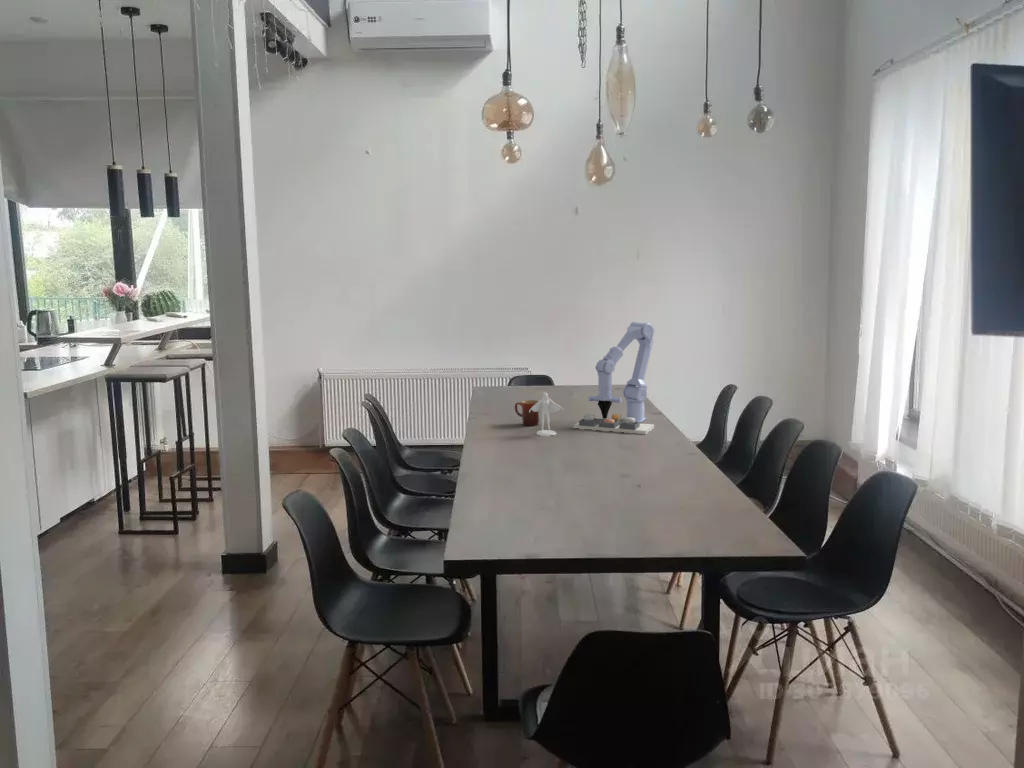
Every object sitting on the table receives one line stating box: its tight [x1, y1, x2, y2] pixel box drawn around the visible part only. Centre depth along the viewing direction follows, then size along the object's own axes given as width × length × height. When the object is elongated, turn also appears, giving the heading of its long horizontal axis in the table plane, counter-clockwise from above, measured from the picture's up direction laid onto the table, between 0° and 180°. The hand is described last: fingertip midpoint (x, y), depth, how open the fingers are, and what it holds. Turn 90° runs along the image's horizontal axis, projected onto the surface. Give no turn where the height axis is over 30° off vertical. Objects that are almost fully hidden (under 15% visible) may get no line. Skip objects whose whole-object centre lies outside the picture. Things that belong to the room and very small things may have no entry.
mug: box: [514, 399, 540, 427], centre depth 357 cm, size 12×9×10 cm
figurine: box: [529, 391, 565, 437], centre depth 338 cm, size 14×11×18 cm
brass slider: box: [611, 412, 622, 422], centre depth 350 cm, size 4×3×4 cm
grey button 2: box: [623, 416, 635, 425], centre depth 340 cm, size 5×5×2 cm
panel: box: [572, 417, 655, 435], centre depth 347 cm, size 14×32×4 cm, turn 65°
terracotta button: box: [603, 418, 615, 423], centre depth 344 cm, size 5×5×2 cm
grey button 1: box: [583, 413, 596, 422], centre depth 348 cm, size 5×5×2 cm
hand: (604, 418), depth 352 cm, fingers closed
